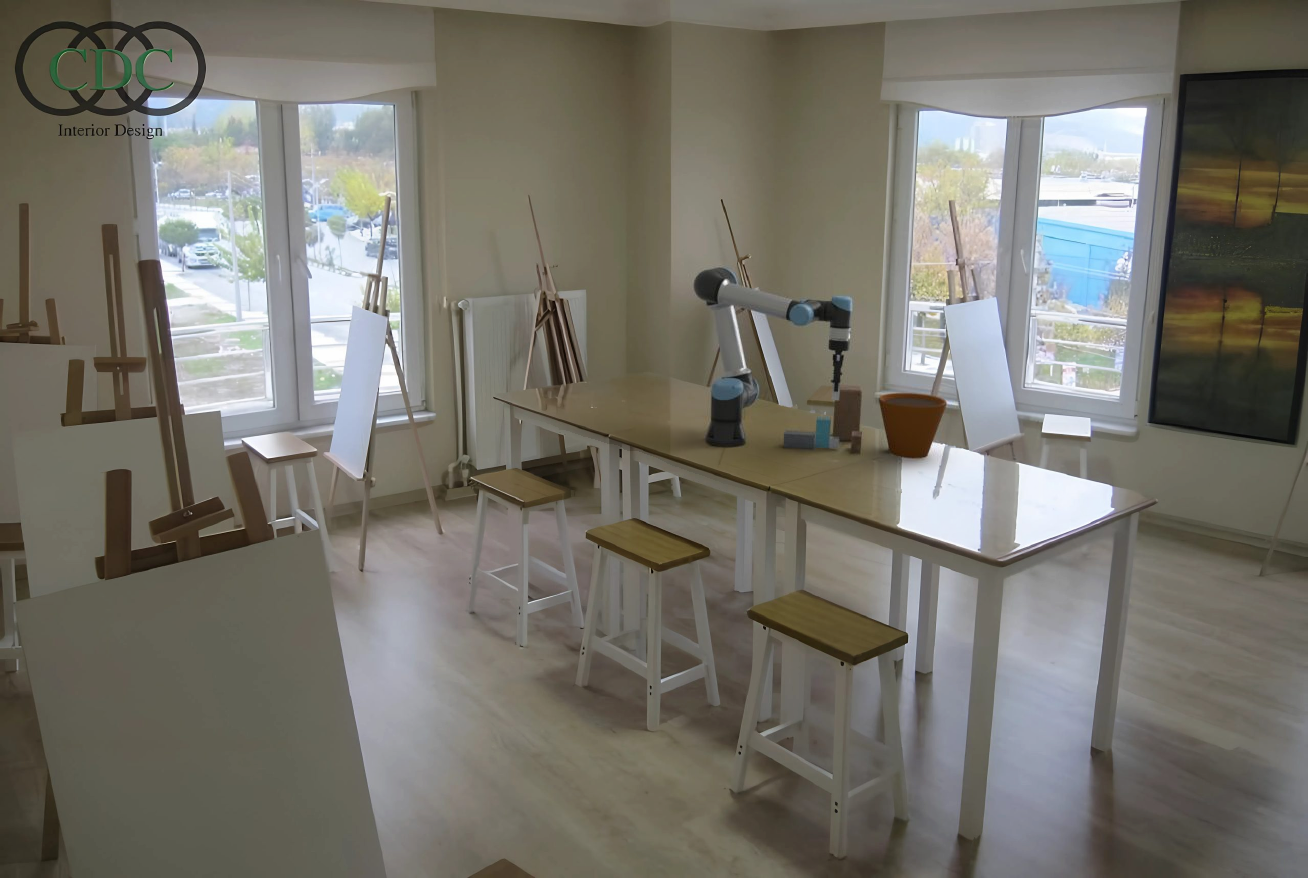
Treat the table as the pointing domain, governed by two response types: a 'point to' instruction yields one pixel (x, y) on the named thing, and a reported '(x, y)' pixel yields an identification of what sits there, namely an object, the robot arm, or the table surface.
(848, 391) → the wooden block
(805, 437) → the grey rectangular block
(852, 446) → the socket
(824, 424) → the teal square post
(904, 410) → the flower pot
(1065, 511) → the table surface
